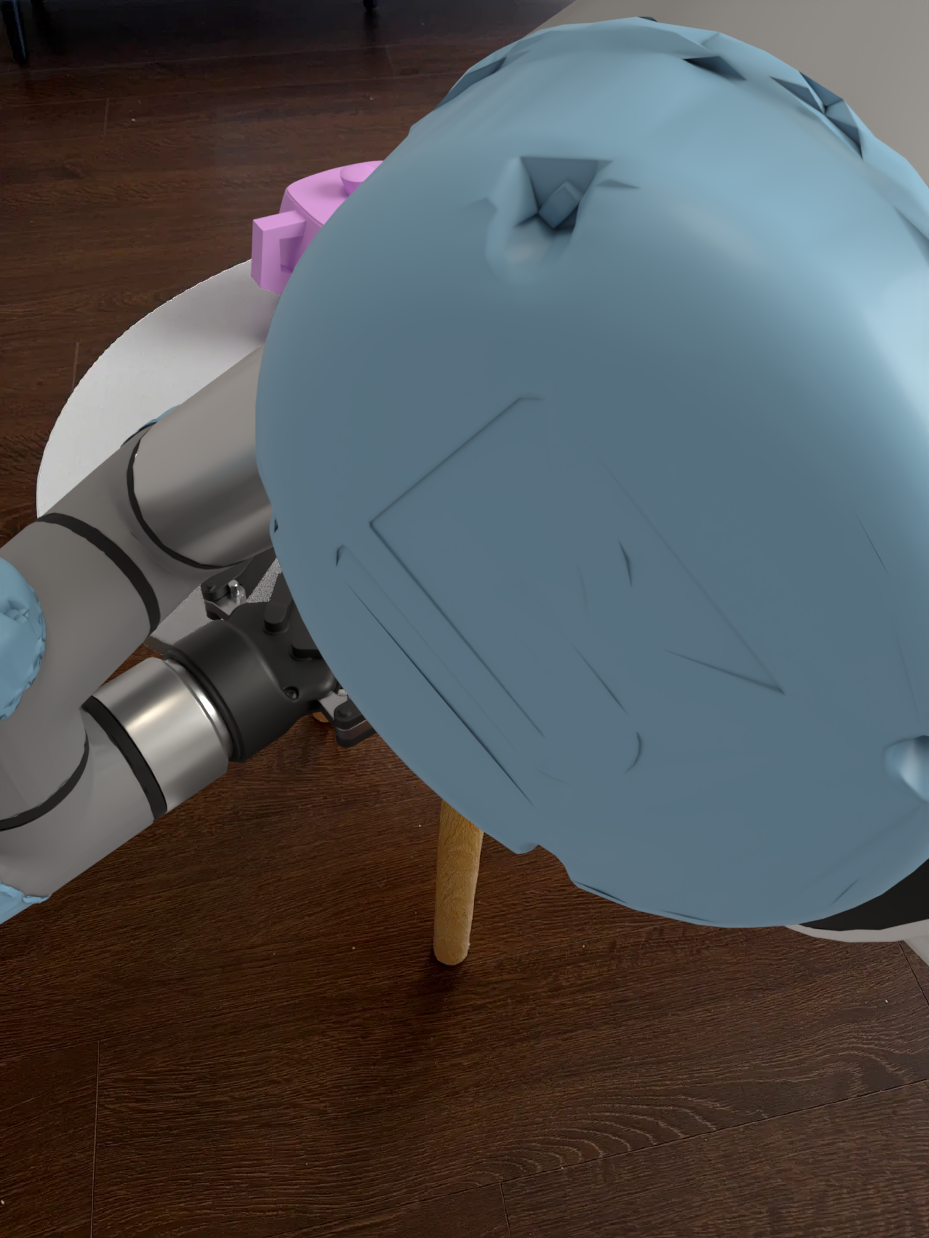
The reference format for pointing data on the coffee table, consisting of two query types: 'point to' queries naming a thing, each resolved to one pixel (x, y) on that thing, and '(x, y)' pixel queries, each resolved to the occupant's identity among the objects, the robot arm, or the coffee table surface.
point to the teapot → (300, 222)
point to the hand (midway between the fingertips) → (479, 530)
